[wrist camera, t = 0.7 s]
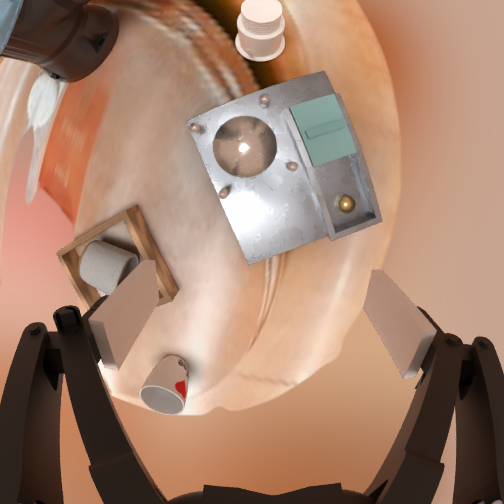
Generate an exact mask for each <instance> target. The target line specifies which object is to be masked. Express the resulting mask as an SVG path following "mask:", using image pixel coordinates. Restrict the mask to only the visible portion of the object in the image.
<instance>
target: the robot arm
mask: <svg viewBox="0 0 504 504" xmlns="http://www.w3.org/2000/svg"><path fill="white" fill-rule="evenodd" d="M89 1H90V0H0V56H1V57H6V58H11V59H16V60H21V61H25V62H29V63H34V64H37V65H39V66H40V67H41V68H42V69H43V70H44V71H45V72H46V73H47V74H48V75H49V76H50V77H51V78H52V79H54V80H57V81H61V82H66V83H70V82H75V81H78V80H80V79H82V78H84V77H86V76H87V75H89V74H90V73H91V72H93V71H94V70H95V69H96V68H97V67H98V66H99V65H100V64H101V63H102V62H103V61H104V59H105V58H106V57H107V55H108V54H109V52H110V51H111V49H112V47H113V45H114V43H115V40H116V38H117V34H118V21H117V18H116V17H115V15H114V14H113V13H111V12H110V11H109V10H108V9H106V8H104V7H101V6H95V5H88V4H86V3H88V2H89ZM158 302H159V292H158V284H157V275H156V266H155V260H143V261H142V262H141V263H140V264H139V265H138V266H137V267H136V268H135V269H134V270H133V271H132V272H131V273H130V274H129V275H128V276H127V277H126V278H125V279H124V280H123V281H122V283H121V284H120V285H119V286H118V287H117V288H116V289H115V290H114V291H113V292H112V293H111V294H110V295H105V296H103V297H101V298H100V299H98V300H97V301H96V302H95V303H94V304H93V306H92V307H91V308H90V309H89V310H88V311H87V312H86V313H85V314H84V315H83V316H82V317H81V314H80V310H79V308H78V307H76V306H71V305H70V306H64V307H61V308H59V309H58V310H56V311H55V312H54V314H53V319H54V321H55V324H56V326H57V330H58V331H57V332H48V331H47V328H46V326H45V324H44V323H41V322H36V323H32V324H30V325H28V326H27V327H26V328H25V329H24V331H23V333H22V336H21V338H20V341H19V344H18V347H17V349H16V352H15V355H14V358H13V361H12V364H11V367H10V370H9V374H8V377H7V380H6V384H5V388H4V391H3V395H2V399H1V404H0V504H64V501H63V491H62V481H61V468H60V443H59V442H60V441H59V439H60V438H59V437H60V407H61V392H62V383H63V374H65V377H66V382H67V386H68V391H69V395H70V400H71V403H72V407H73V411H74V415H75V418H76V422H77V425H78V428H79V431H80V434H81V437H82V440H83V443H84V446H85V449H86V452H87V454H88V457H89V460H90V463H91V465H90V466H89V471H90V474H91V477H92V479H93V481H94V483H95V486H96V488H97V490H98V492H99V494H100V497H101V499H102V501H103V503H104V504H431V502H432V500H433V497H434V495H435V493H436V490H437V488H438V485H439V482H440V480H441V477H442V474H443V471H444V463H440V460H441V456H442V453H443V450H444V447H445V443H446V440H447V436H448V433H449V429H450V425H451V421H452V416H453V412H454V407H455V411H456V438H457V440H456V443H457V444H456V472H455V484H454V493H453V503H452V504H504V373H503V370H502V367H501V364H500V361H499V359H498V356H497V353H496V350H495V348H494V345H493V344H492V342H491V341H490V340H489V339H487V338H486V337H476V338H475V339H474V341H473V343H472V345H468V344H463V342H462V340H461V339H460V338H459V337H457V336H456V335H454V334H450V333H444V332H443V331H442V330H441V329H440V327H439V326H438V325H437V324H436V323H435V322H433V319H432V318H431V317H430V316H429V315H428V314H427V313H426V311H425V310H423V309H421V308H420V307H418V306H415V305H414V303H413V302H412V301H411V300H410V299H409V298H408V297H407V295H406V294H405V293H404V292H403V291H402V290H401V289H400V288H399V287H398V286H397V284H396V283H395V282H393V280H392V279H391V278H390V277H389V276H388V275H387V274H386V273H385V272H384V271H383V270H372V273H371V277H370V282H369V286H368V291H367V295H366V299H365V303H364V307H363V309H364V310H365V312H366V314H367V315H368V317H369V319H370V321H371V322H372V324H373V326H374V327H375V329H376V331H377V332H378V334H379V336H380V337H381V339H382V341H383V343H384V345H385V347H386V348H387V350H388V352H389V354H390V355H391V357H392V359H393V361H394V363H395V365H396V366H397V368H398V370H399V372H400V374H401V376H402V378H403V379H404V378H410V377H415V376H416V375H417V373H418V371H419V369H420V367H421V369H422V370H423V372H424V373H423V374H422V376H421V378H420V380H419V382H418V384H417V386H416V387H415V389H417V390H416V392H415V395H414V398H413V400H412V403H411V406H410V408H409V410H408V413H407V415H406V418H405V420H404V422H403V424H402V427H401V429H400V431H399V433H398V435H397V438H396V440H395V442H394V444H393V446H392V448H391V450H390V452H389V453H388V455H387V457H386V459H385V461H384V463H383V465H382V466H381V468H380V470H379V472H378V473H377V475H376V477H375V478H374V480H373V482H372V483H371V485H370V486H369V487H368V489H367V490H366V491H365V492H364V493H363V494H361V493H359V492H355V491H350V490H343V489H342V488H341V483H335V484H328V485H319V486H310V487H306V488H303V489H299V490H296V491H292V492H288V493H284V494H280V495H266V494H262V493H258V492H253V491H249V490H245V489H241V488H233V487H221V486H211V485H204V489H203V491H199V492H193V493H188V494H184V495H181V496H178V497H176V498H173V499H172V500H169V501H167V499H166V498H165V496H164V495H163V494H162V492H161V491H160V489H159V488H158V486H157V485H156V484H155V482H154V480H153V479H152V477H151V476H150V474H149V472H148V471H147V469H146V468H145V466H144V464H143V462H142V461H141V459H140V457H139V456H138V454H137V452H136V450H135V448H134V446H133V444H132V443H131V441H130V439H129V437H128V435H127V433H126V431H125V429H124V427H123V425H122V422H121V420H120V418H119V416H118V414H117V412H116V410H115V407H114V405H113V402H112V400H111V398H110V395H109V393H108V390H107V388H106V385H105V383H104V380H103V377H102V375H101V372H100V369H99V367H98V362H99V361H100V359H101V360H102V362H103V365H104V368H108V369H112V370H117V371H119V369H120V367H121V365H122V363H123V362H124V360H125V358H126V356H127V354H128V353H129V351H130V349H131V347H132V346H133V344H134V342H135V341H136V339H137V337H138V335H139V334H140V332H141V330H142V329H143V327H144V325H145V324H146V322H147V320H148V319H149V317H150V315H151V314H152V312H153V310H154V309H155V307H156V305H157V304H158Z"/></svg>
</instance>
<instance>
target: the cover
mask: <svg viewBox="0 0 504 504" xmlns="http://www.w3.org/2000/svg"><path fill="white" fill-rule="evenodd" d="M289 110H290V113H291V115H292V117H293V120H294V122H295V124H296V127H297V129H298V131H299V134H300V136H301V139H302V141H303V144H304V146H305V149H306V151H307V154H308V156H309V159H310V162H311V164H312V167H315V166H318V165H320V164H323V163H326V162H329V161H332V160H335V159H338V158H341V157H344V156H347V155H350V154H353V153H356V152H357V151H356V148H355V145H354V143H353V140H352V137H351V134H350V132H349V129H348V127H347V124H346V121H345V119H344V116H343V114H342V112H341V109H340V107H339V104H338V102H337V100H336V97H335V95H334V94H331V95H327V96H324V97H320V98H317V99H313V100H310V101H307V102H304V103H300V104H297V105H294V106H291V107H289Z"/></svg>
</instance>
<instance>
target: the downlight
mask: <svg viewBox="0 0 504 504" xmlns="http://www.w3.org/2000/svg"><path fill="white" fill-rule="evenodd" d="M237 25H238V35H237V37H236V47H237V50H238V51H239V53H240V54H241V55H243V56H244V57H245V58H247V59H250V60H253V61H269V60H272V59H274V58H276V57H277V56H279V55H280V54H281V53H282V51H283V49H284V47H285V39H284V36H283V31H284V27H285V20H284V17H283V16H282V6H281V4H280V3H279V2H278V1H277V0H245V1H244V2H243V4H242V6H241V14H240V15H239V17H238V20H237Z"/></svg>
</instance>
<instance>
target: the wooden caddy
mask: <svg viewBox="0 0 504 504" xmlns="http://www.w3.org/2000/svg"><path fill="white" fill-rule="evenodd" d="M122 220H124V222H125V224H126V226H127V228H128V230H129V233H130V235H131V237H132V239H133V241H134V243H135V245H136V247H137V249H138V251H139V253H140V255H141V257H142V258H143V260H155V266H156V275H157V284H158V288H159V291H158V292H159V302H158V304H157V305H156V307H157V306H160V305H163V304H166V303H169V302H172V301H173V299H174V297H175V296H176V294H177V292H178V290H179V288H178V286H177V284H176V282H175V281H174V279H173V277H172V275H171V273H170V271H169V269H168V267H167V265H166V263H165V262H164V260H163V258H162V256H161V254H160V252H159V250H158V248H157V246H156V244H155V242H154V240H153V238H152V236H151V234H150V231H149V229H148V227H147V225H146V223H145V221H144V219H143V217H142V214H141V212H140V210H139V208H138V206H137V205H136V206H134V207H132V208H130V209H127V210H125V211H124V212H122V213H120V214H118V215H116V216H115V217H113V218H111V219H109V220H108V221H106V222H104V223H103V224H101V225H99V226H97V227H96V228H94V229H92V230H91V231H89V232H87V233H86V234H84V235H83V236H81V237H79V238H78V239H76V240H75V241H73V242H72V243H70V244H68V245H67V246H65V247H64V248H62V249H61V250H59V251H58V252H56V254H57V256H58V258H59V260H60V262H61V264H62V266H63V268H64V270H65V272H66V274H67V276H68V277H69V279H70V281H71V283H72V285H73V287H74V288H75V290H76V292H77V294H78V295H79V297H80V299H81V301H82V302H83V304H84V306H85V307H86V309H87V310H89V309H90V308H91V307H92V306H93V304H94V303H95V302H96V301H97V300H98V299H100V298H101V297H100V296H99V294H98V292H97V291H96V289H95V287H93V286H91V285H89V284H88V283H86V282H85V281H84V280H83V279H82V278H81V277H80V275H79V270H78V265H79V257H78V255H77V253H76V251H75V249H74V248H75V247H77V246H78V245H80V244H82V243H83V242H85V241H87V240H88V239H90V238H92V237H94V236H95V235H97V234H99V233H100V232H102V231H104V230H106V229H107V228H109V227H111V226H113V225H115V224H116V223H118V222H120V221H122Z"/></svg>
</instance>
